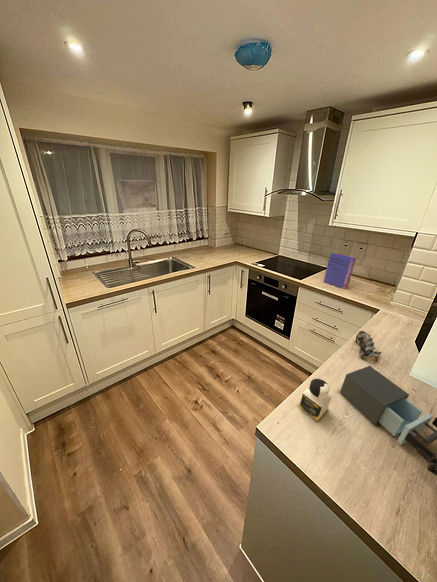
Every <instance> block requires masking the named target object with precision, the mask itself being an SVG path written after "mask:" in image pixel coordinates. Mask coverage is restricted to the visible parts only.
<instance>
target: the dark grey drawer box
mask: <svg viewBox="0 0 437 582" xmlns="http://www.w3.org/2000/svg"><path fill="white" fill-rule="evenodd" d="M339 393H340V395H342V396H343V397H344V398H345V399H346V400H347V401H348V402H349V403H350V404H351V405H352V406H353V407H354V408H355V409H356V410H358V411H359V412H360V414H362V415H363V416H364V417H365V418H366V419H367V420H368V421H369V422H370V423H372V424H373V426H377V425H380V423H379V422H378V421H379V419H380V417H381V415H382V413H383V411H384V409H385V407H387V406H389V405H391V404H393V403H395V402H397V401H399V400H401V399H403V398H406V399H407V400H408V397H409V396H410V394H409V393H408V392H407V391H405V390H404V389H402V388H401V387H399V386H398V385H397V384H396V383H394V382H392V380H391V379H389V378H387V377H386V376H385V375H384V374H382V373H381V372H380V371H378V370H376V369H375V368H374V367H372V366H371V365H368V366H365V367H362V368H360V369H356V370H354V371H351V372H349V373H346V375H345V377H344V380H343V382H342V385H341V388H340V392H339Z"/></svg>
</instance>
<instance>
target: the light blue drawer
mask: <svg viewBox="0 0 437 582" xmlns="http://www.w3.org/2000/svg"><path fill="white" fill-rule="evenodd" d="M422 412H423V410H422V409H421V408H419V407H418V406H417V405H415V403H413V402H412V401H410V400H409V399H408V398H407V399H406V398H403V399H401V400H399V401H397V402H395V403H393V404H391V405H389V406H387V407H385V409H384V411H383V413H382V415H381V417H380V419H379V421H378V422H379V425H381V426H382V427H383V428H384V429H386V430H387V432H389V433H390V434H391V435H392V436H393V437H396V436H397V435H399V436H398V438H397V440H396V443H398V444H399V446H402V445H403V444H406V443H408V442H407V441H406V440H405V438H406V436H407V434H408V433H411V434H412V435H413V436H414V437H415V438H416V437H418V438H420V439H421V440H422V441H421V442H422V444H424V445H425V446H429V445H430V444H433V443H434V442H435V441H437V429H435V428H434V427H433V426H432V425H430V424H429V423H430V422H431V420H432V419H433V415H432V414H431V413H426V414H423V416H421V414H422ZM426 428H428V429H430V430H431V431H432V433H430V434H428V435H427V436H425V437H424V436H423V435H422V434H423V432H425V430H426Z"/></svg>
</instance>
